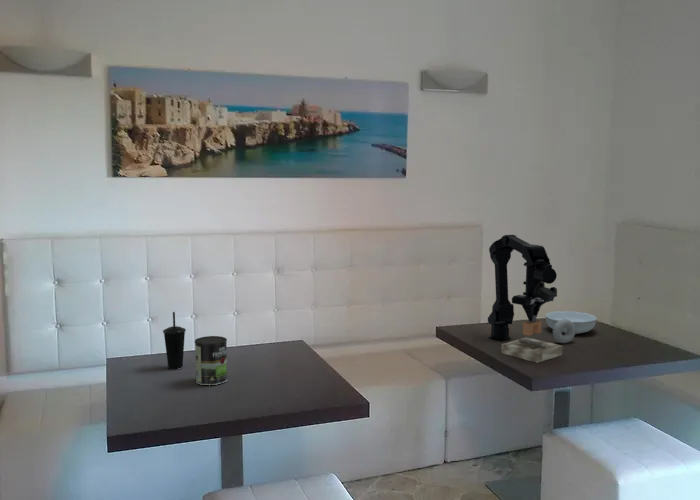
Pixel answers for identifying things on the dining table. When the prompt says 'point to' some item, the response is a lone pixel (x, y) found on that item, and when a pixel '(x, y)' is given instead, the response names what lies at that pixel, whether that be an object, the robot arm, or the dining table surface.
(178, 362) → the drinking cup
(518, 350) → the grey square tray
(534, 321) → the brown u-shaped block
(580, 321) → the serving bowl
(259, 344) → the dining table surface
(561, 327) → the donut
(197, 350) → the coffee can
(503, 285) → the robot arm
